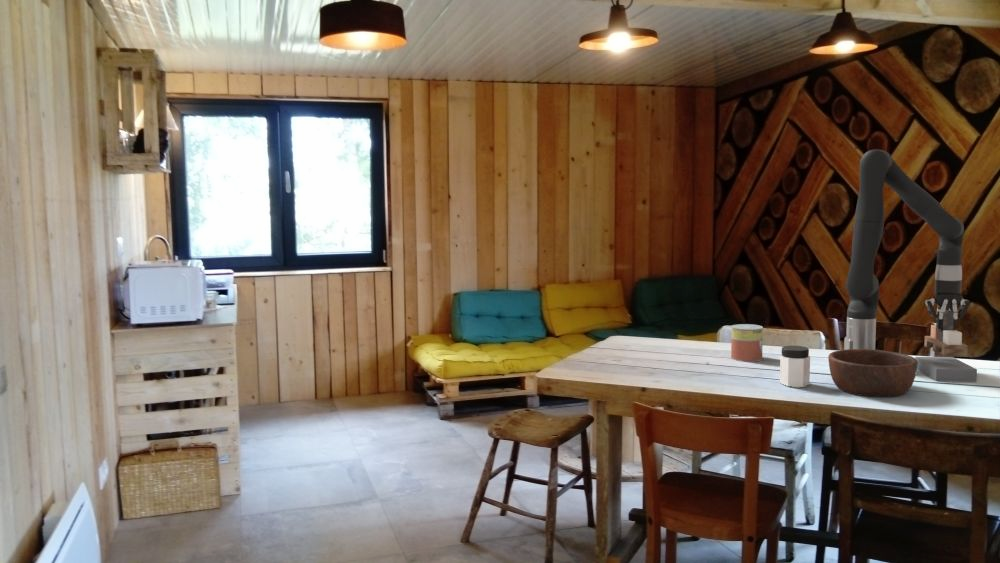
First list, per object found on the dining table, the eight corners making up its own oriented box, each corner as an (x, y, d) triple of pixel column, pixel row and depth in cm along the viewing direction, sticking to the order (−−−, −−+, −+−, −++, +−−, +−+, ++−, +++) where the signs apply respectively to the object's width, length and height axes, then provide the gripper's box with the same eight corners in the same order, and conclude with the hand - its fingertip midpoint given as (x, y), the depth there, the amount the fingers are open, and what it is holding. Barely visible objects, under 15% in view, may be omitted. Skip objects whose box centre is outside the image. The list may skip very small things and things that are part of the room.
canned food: (762, 362, 275) (763, 329, 274) (730, 360, 279) (730, 328, 277) (762, 355, 286) (762, 324, 284) (731, 354, 289) (731, 323, 288)
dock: (935, 381, 243) (936, 368, 243) (914, 368, 261) (915, 356, 260) (976, 381, 241) (976, 369, 241) (952, 368, 259) (952, 357, 258)
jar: (788, 379, 250) (789, 344, 248) (813, 383, 244) (813, 347, 242) (775, 384, 244) (776, 348, 242) (800, 389, 238) (801, 352, 236)
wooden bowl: (936, 395, 228) (937, 361, 226) (868, 403, 221) (869, 369, 219) (873, 376, 252) (874, 346, 250) (810, 383, 245) (811, 352, 243)
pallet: (943, 356, 243) (945, 314, 241) (924, 346, 259) (925, 307, 257) (967, 356, 242) (969, 314, 240) (946, 346, 257) (948, 307, 256)
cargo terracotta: (935, 338, 253) (935, 327, 252) (930, 336, 257) (931, 325, 256) (948, 338, 252) (948, 327, 252) (943, 336, 256) (943, 325, 256)
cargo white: (948, 344, 243) (948, 332, 243) (942, 342, 247) (943, 330, 247) (961, 344, 243) (962, 332, 242) (956, 342, 246) (956, 330, 246)
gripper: (929, 279, 245) (927, 332, 247) (976, 279, 242) (974, 332, 244) (920, 277, 252) (918, 328, 254) (966, 276, 250) (964, 328, 252)
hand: (946, 329), depth 249 cm, fingers closed on pallet, 3 cm apart
